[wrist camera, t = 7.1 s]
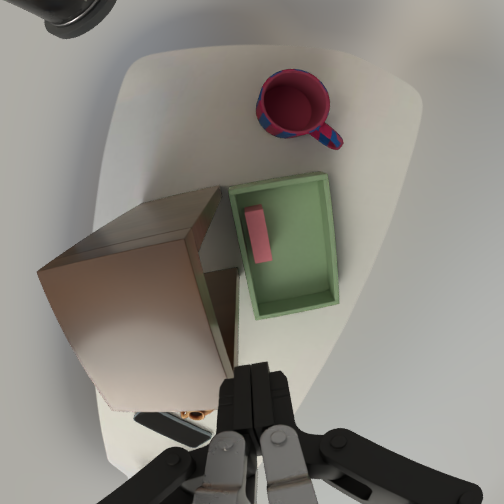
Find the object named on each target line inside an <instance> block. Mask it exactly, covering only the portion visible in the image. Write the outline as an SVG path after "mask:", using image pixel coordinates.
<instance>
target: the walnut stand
mask: <svg viewBox="0 0 504 504" xmlns="http://www.w3.org/2000/svg"><path fill="white" fill-rule="evenodd" d="M221 198H222V195H221V190H220V186H219V185H218V186H213V187H209V188H204V189H200V190H195V191H191V192H186V193H182V194H178V195H173V196H169V197H165V198H161V199H157V200H153V201H149V202H145V203H141V204H140V205H138V206H136V207H135V208H133V209H131V210H129V211H128V212H126V213H124V214H123V215H121V216H119V217H118V218H116V219H114V220H113V221H111V222H109V223H108V224H106V225H105V226H103V227H101V228H100V229H98V230H97V231H95V232H94V233H92V234H90V235H89V236H87V237H86V238H84V239H83V240H82V241H80V242H78V243H77V244H75V245H74V246H72V247H71V248H70V249H68V250H66V251H65V252H64V253H62V254H61V255H59V256H58V257H56V258H55V259H54V260H52V261H51V262H49V263H48V264H46V265H45V266H44V267H42V268H41V269H40V270H38V271H37V275H38V277H39V280H40V282H41V284H42V287H43V289H44V292H45V294H46V296H47V299H48V301H49V303H50V305H51V308H52V310H53V312H54V314H55V316H56V318H57V320H58V322H59V324H60V326H61V328H62V330H63V332H64V334H65V336H66V338H67V340H68V342H69V343H70V345H71V347H72V349H73V350H74V352H75V354H76V356H77V358H78V359H79V361H80V363H81V364H82V366H83V368H84V369H85V371H86V373H87V374H88V375H89V377H90V379H91V381H92V382H93V384H94V385H95V387H96V388H97V390H98V391H99V393H100V394H101V396H102V397H103V398H104V400H105V401H106V403H107V404H108V406H109V407H110V408H111V410H112V411H123V412H185V411H204V410H217V409H218V406H219V405H218V400H219V388H220V386H221V384H222V382H223V381H224V379H229V378H234V367H235V366H238V336H239V273H238V269H237V267H236V268H231V269H225V270H220V271H214V272H209V273H203V270H202V266H201V262H200V259H199V255H198V252H199V249H200V247H201V244H202V242H203V240H204V237H205V235H206V233H207V230H208V228H209V226H210V223H211V221H212V219H213V216H214V214H215V212H216V209H217V207H218V205H219V203H220V200H221Z"/></svg>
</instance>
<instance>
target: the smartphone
mask: <svg viewBox="0 0 504 504" xmlns="http://www.w3.org/2000/svg"><path fill="white" fill-rule="evenodd" d="M133 419H134V421H136V422H137V423H139V424H141V425H143V426H145V427H147V428H149V429H151V430H153V431H155V432H157V433H159V434H161V435H164V436H166V437H168V438H170V439H172V440H175V441H177V442H179V443H181V444H184V445H186V446H189V447H192V448H196V447H198V446H200V445H201V444H203V443H205V442H206V441H208V440H210V439H211V433H209V432H207V431H204V430H202V429H200V428H197V427H195V426H193V425H191V424H189V423H187V422H184V421H182V420H180V419H178V418H176V417H174V416H172V415H170V414H168V413H166V412H137V413H136V414H135V415H134V418H133Z"/></svg>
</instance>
